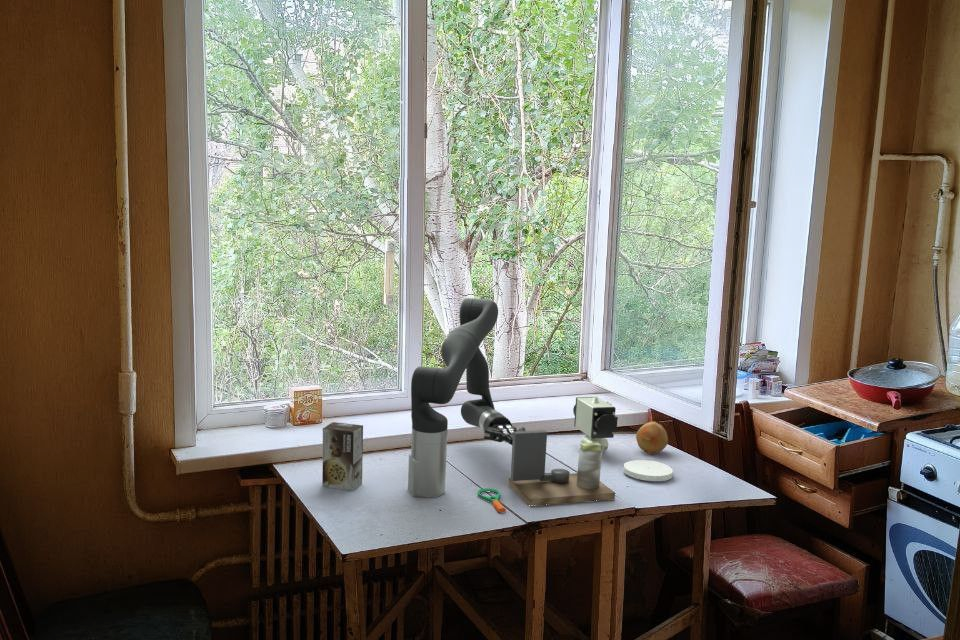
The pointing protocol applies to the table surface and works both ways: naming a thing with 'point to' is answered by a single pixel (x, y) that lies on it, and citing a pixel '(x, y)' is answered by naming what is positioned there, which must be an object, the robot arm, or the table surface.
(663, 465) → the plastic lid
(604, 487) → the base
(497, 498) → the magnifying glass
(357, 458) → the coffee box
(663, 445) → the onion
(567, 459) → the table surface
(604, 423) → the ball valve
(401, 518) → the table surface
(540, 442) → the grey panel with handle
